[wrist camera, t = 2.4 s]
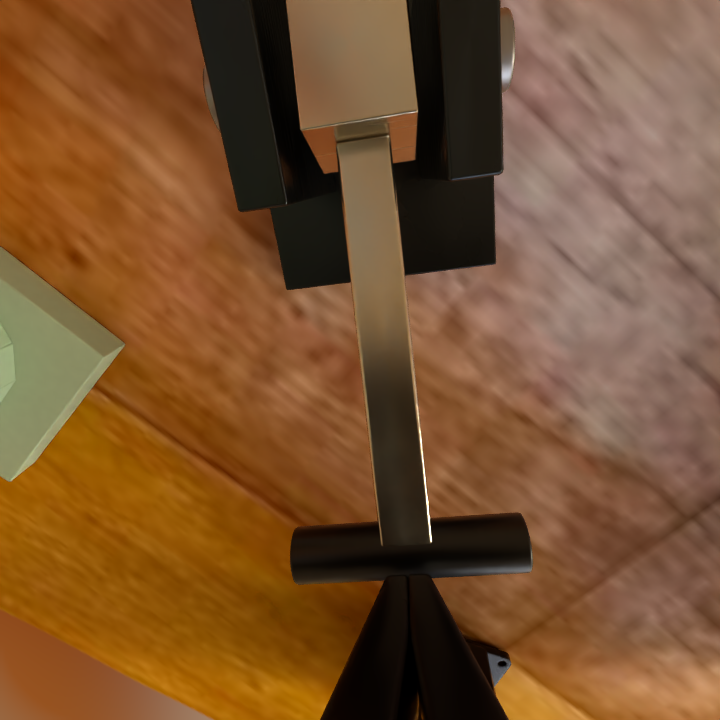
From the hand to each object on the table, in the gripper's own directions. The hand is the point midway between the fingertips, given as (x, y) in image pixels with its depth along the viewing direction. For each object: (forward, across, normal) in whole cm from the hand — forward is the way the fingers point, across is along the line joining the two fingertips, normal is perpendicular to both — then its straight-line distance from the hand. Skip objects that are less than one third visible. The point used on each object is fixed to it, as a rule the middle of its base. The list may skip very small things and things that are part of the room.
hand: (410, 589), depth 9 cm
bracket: (+12, 0, -10) cm, 15 cm away
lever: (+4, 0, -5) cm, 6 cm away
